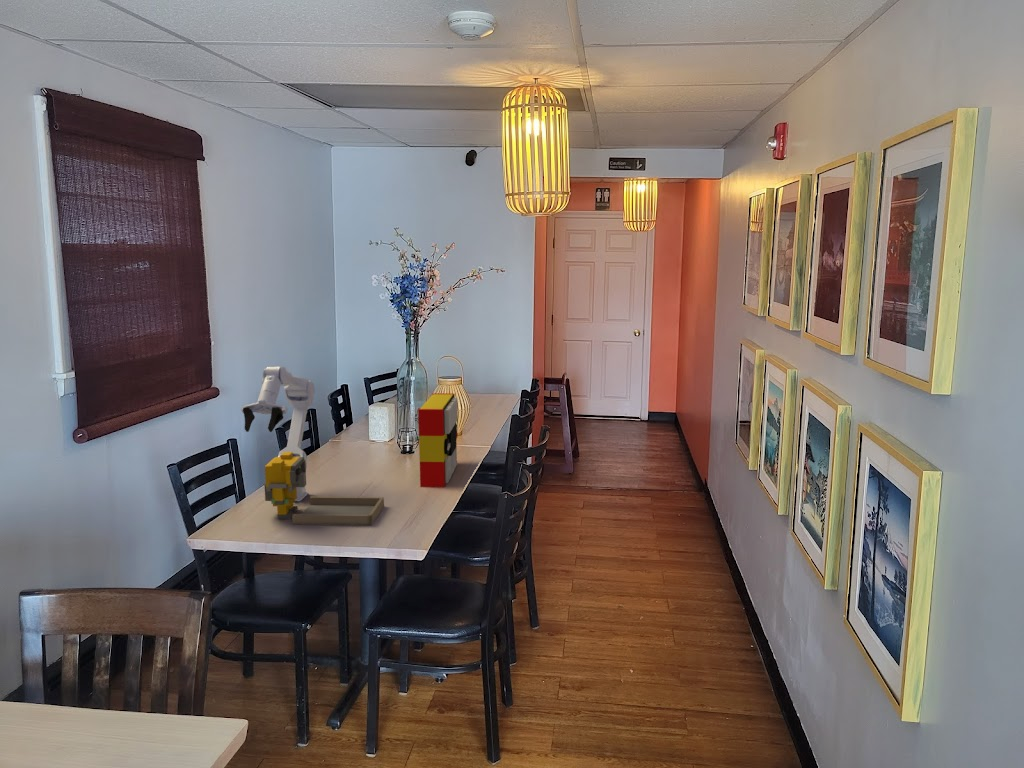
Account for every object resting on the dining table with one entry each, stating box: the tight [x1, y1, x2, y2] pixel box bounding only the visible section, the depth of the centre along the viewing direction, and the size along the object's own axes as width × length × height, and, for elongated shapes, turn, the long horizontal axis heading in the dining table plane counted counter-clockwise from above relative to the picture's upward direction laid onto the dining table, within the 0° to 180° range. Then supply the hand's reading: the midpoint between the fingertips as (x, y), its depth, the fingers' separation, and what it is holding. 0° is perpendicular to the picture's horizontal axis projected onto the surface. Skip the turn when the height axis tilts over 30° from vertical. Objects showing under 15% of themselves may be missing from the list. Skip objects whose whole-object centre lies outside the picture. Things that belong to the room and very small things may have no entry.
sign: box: [417, 392, 459, 488], centre depth 305 cm, size 33×11×30 cm, turn 176°
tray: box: [292, 496, 385, 526], centre depth 261 cm, size 19×26×3 cm
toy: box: [263, 452, 307, 520], centre depth 261 cm, size 14×13×20 cm
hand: (258, 430), depth 247 cm, fingers open, 7 cm apart
